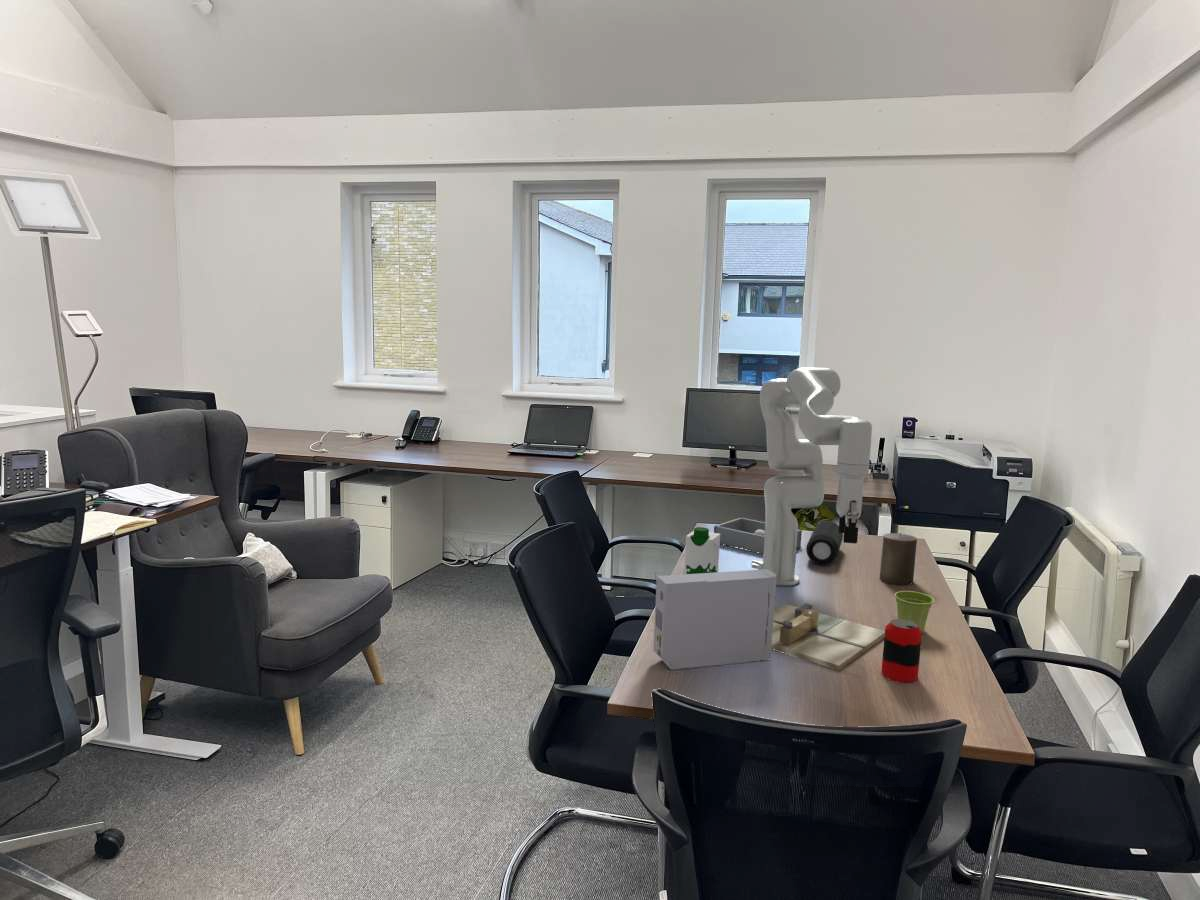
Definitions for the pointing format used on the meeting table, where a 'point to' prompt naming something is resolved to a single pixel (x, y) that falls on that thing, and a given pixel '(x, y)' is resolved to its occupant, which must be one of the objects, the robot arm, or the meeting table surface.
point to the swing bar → (799, 626)
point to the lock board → (825, 638)
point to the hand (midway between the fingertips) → (847, 537)
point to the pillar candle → (898, 558)
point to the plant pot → (913, 607)
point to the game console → (714, 618)
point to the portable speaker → (824, 543)
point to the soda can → (901, 651)
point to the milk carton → (702, 551)
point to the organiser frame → (745, 534)
